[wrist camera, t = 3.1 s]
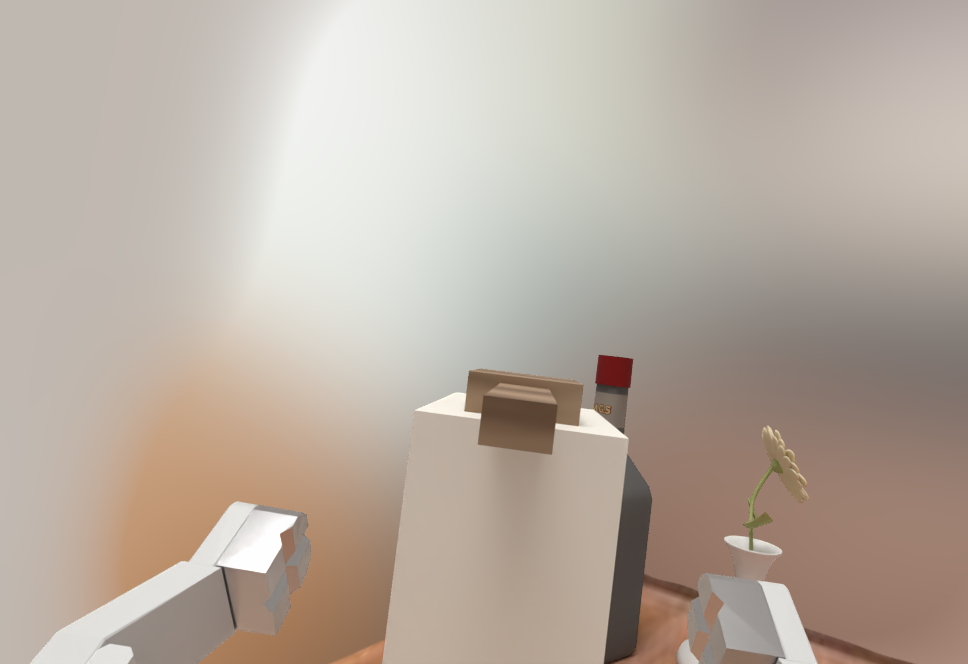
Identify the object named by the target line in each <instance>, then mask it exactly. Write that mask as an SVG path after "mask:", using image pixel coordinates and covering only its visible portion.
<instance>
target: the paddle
mask: <svg viewBox="0 0 968 664" xmlns="http://www.w3.org/2000/svg"><path fill="white" fill-rule="evenodd" d="M582 394H583V385H582V384H580V383H578V382H576V381H575V380H568V379H559V378H552V377H543V376H536V375H528V374H520V373H511V372H504V371H495V370H488V369H476V370H471V371H469V376H468V385H467V392H466V400H465V409H464V411H465V412H473V413H481V421H480V429H479V437H478V445H484V446H491V447H498V448H506V449H513V450H520V451H528V452H535V453H542V454H550V455H552V451H553V442H554V433H555V425H556V423H557V424H564V425H572V426H579V420H580V411H581V402H582Z"/></svg>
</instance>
